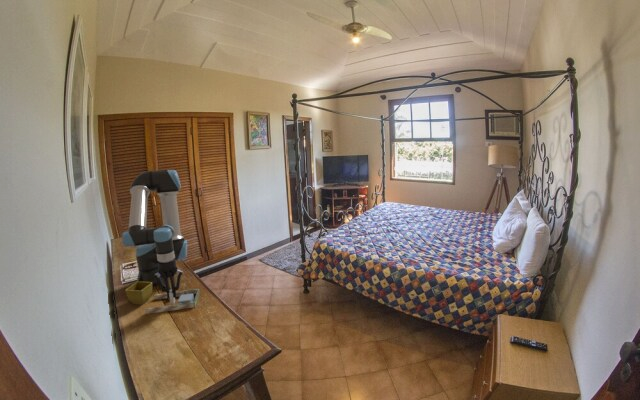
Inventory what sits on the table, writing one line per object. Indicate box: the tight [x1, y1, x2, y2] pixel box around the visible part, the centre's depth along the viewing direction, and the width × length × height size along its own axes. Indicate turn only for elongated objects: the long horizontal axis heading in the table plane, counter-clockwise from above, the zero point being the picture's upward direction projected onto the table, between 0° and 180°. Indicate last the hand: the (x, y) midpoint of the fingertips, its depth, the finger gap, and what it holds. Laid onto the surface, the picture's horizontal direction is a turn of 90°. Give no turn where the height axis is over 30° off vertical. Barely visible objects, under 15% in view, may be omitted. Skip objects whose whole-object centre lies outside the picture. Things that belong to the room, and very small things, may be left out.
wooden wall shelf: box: [145, 288, 201, 315], centre depth 145 cm, size 22×13×3 cm, turn 103°
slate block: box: [177, 294, 195, 304], centre depth 144 cm, size 6×6×4 cm
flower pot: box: [124, 281, 153, 305], centre depth 146 cm, size 9×9×9 cm
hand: (173, 302), depth 144 cm, fingers closed
